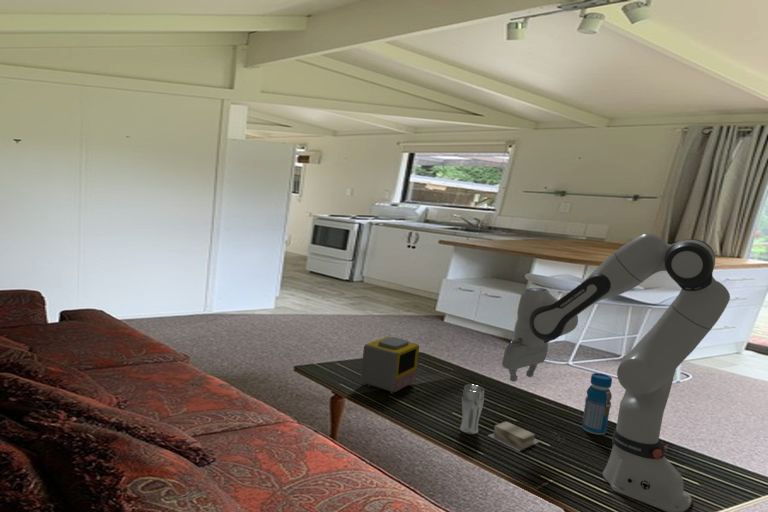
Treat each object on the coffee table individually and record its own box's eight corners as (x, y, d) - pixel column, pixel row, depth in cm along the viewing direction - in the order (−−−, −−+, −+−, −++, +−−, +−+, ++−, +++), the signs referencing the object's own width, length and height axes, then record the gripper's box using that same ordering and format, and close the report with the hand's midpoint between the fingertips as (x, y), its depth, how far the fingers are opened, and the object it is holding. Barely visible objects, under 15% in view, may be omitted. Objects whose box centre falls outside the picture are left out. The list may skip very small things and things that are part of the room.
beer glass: (479, 437, 166) (485, 393, 165) (457, 433, 168) (463, 389, 166) (479, 428, 173) (485, 386, 172) (458, 425, 174) (464, 382, 173)
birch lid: (533, 443, 165) (535, 434, 165) (522, 448, 161) (523, 439, 160) (505, 429, 173) (506, 421, 173) (493, 434, 169) (494, 425, 168)
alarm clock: (393, 398, 193) (398, 350, 191) (358, 386, 201) (363, 341, 199) (417, 384, 210) (422, 341, 208) (384, 374, 218) (388, 332, 216)
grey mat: (539, 443, 167) (539, 441, 167) (518, 452, 159) (519, 451, 159) (508, 429, 176) (508, 427, 175) (487, 437, 167) (487, 435, 167)
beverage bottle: (586, 434, 178) (594, 378, 176) (577, 423, 186) (585, 370, 184) (610, 436, 178) (619, 381, 176) (600, 426, 186) (608, 373, 184)
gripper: (518, 343, 154) (511, 387, 156) (553, 336, 168) (546, 377, 170) (500, 337, 159) (494, 380, 161) (536, 331, 173) (530, 370, 174)
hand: (521, 378), depth 165 cm, fingers open, 8 cm apart
